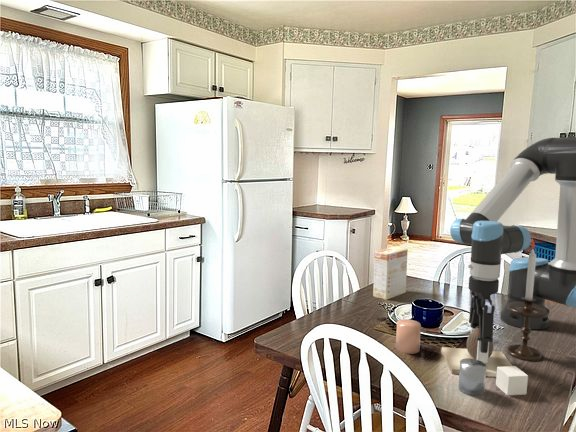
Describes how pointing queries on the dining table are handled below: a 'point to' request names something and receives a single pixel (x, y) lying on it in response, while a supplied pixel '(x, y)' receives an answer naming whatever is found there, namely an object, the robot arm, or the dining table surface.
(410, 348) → the pink pillar candle
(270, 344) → the dining table surface
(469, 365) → the grey tin
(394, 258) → the coffeecake box
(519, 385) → the cream block
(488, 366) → the birch board
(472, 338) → the vase
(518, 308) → the candlestick
